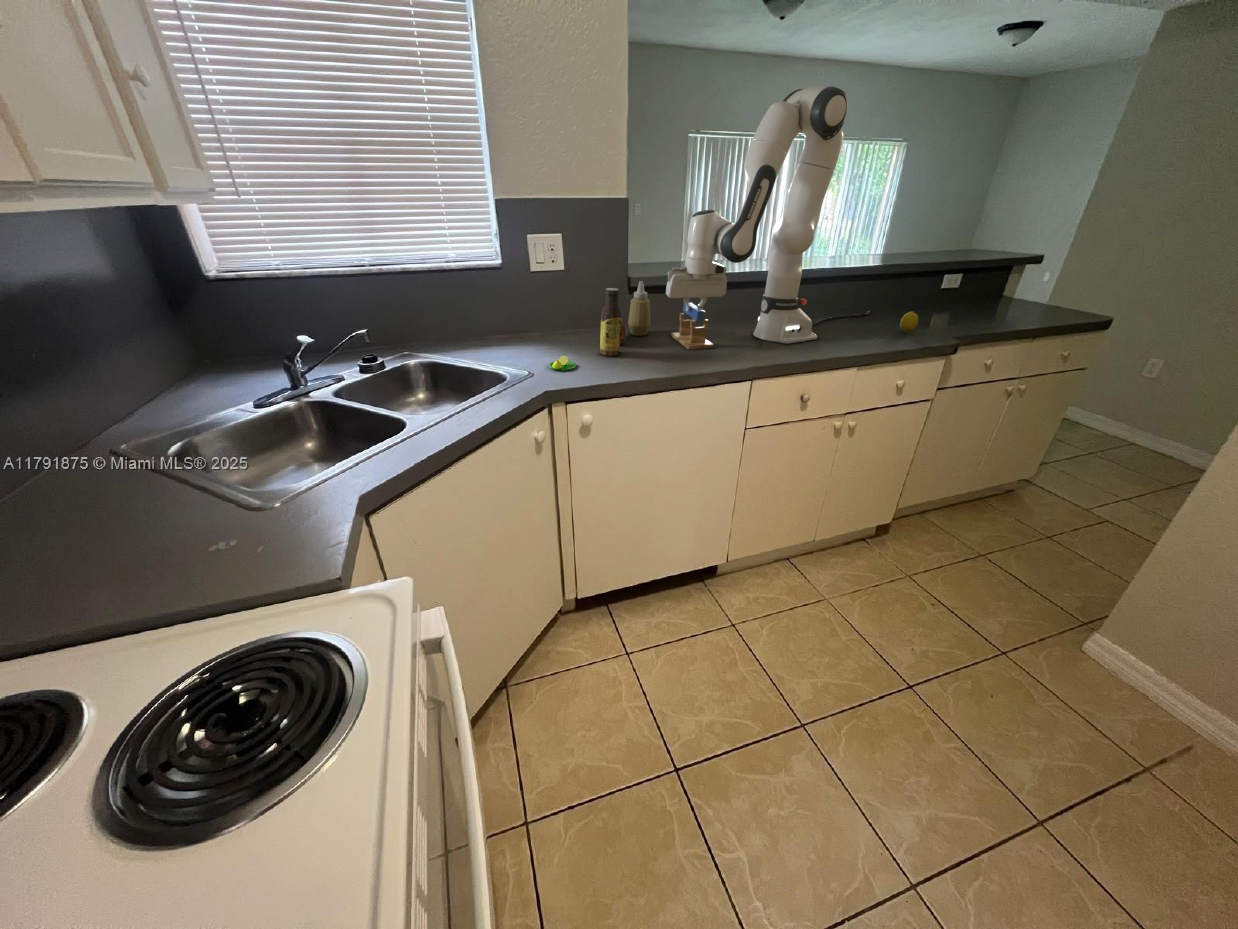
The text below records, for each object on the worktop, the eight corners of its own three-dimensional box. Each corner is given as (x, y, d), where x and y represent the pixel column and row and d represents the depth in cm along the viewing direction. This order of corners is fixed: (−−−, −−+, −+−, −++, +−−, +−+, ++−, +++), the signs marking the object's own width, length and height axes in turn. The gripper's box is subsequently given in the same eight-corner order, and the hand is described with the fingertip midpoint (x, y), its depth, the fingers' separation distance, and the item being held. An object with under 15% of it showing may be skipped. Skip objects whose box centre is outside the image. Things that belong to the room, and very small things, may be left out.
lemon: (914, 332, 184) (921, 310, 180) (913, 335, 180) (920, 313, 176) (898, 329, 187) (905, 308, 183) (896, 333, 183) (903, 311, 179)
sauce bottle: (605, 358, 151) (605, 291, 141) (596, 352, 156) (596, 287, 146) (623, 355, 154) (625, 290, 144) (614, 349, 159) (615, 286, 148)
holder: (671, 336, 174) (672, 311, 169) (694, 334, 176) (696, 310, 171) (688, 349, 160) (690, 323, 156) (713, 347, 163) (716, 321, 158)
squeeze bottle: (650, 331, 178) (653, 279, 169) (649, 337, 171) (652, 284, 162) (628, 330, 179) (630, 278, 170) (626, 336, 172) (628, 283, 163)
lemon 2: (555, 361, 148) (555, 352, 146) (579, 364, 146) (579, 355, 144) (544, 369, 141) (543, 360, 140) (569, 373, 139) (569, 363, 138)
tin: (603, 335, 172) (603, 311, 168) (611, 334, 173) (612, 310, 169) (617, 348, 160) (618, 322, 156) (626, 347, 161) (627, 321, 157)
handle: (704, 320, 159) (705, 310, 157) (696, 320, 158) (697, 311, 157) (689, 311, 169) (690, 302, 167) (683, 311, 168) (683, 302, 167)
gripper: (671, 268, 150) (668, 314, 157) (731, 268, 155) (725, 311, 163) (664, 265, 156) (661, 309, 163) (722, 264, 161) (717, 307, 168)
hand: (693, 310), depth 163 cm, fingers closed on handle, 2 cm apart
